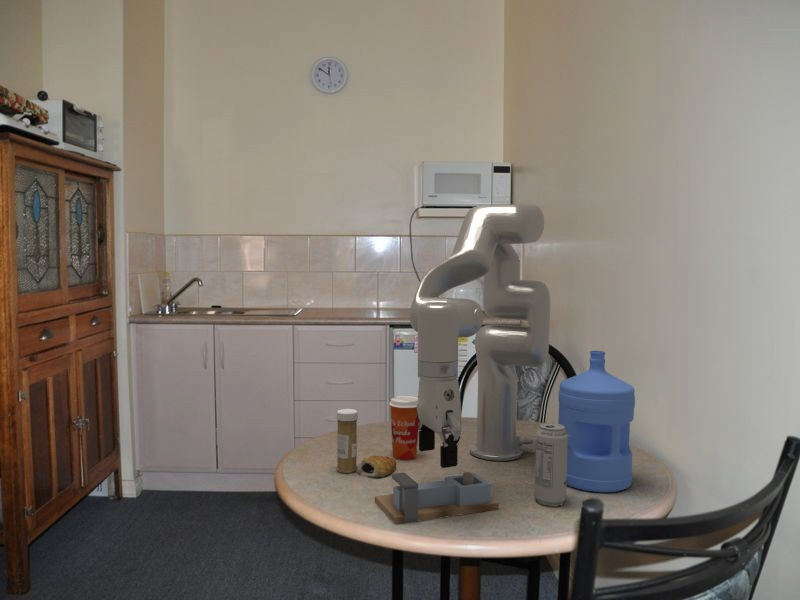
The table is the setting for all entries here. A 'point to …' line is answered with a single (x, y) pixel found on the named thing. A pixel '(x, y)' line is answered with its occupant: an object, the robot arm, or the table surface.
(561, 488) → the energy drink can
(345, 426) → the sprinkles bottle
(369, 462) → the pastry
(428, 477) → the table surface
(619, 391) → the water jug
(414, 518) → the keeper
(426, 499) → the link
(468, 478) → the board
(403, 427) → the paper cup
